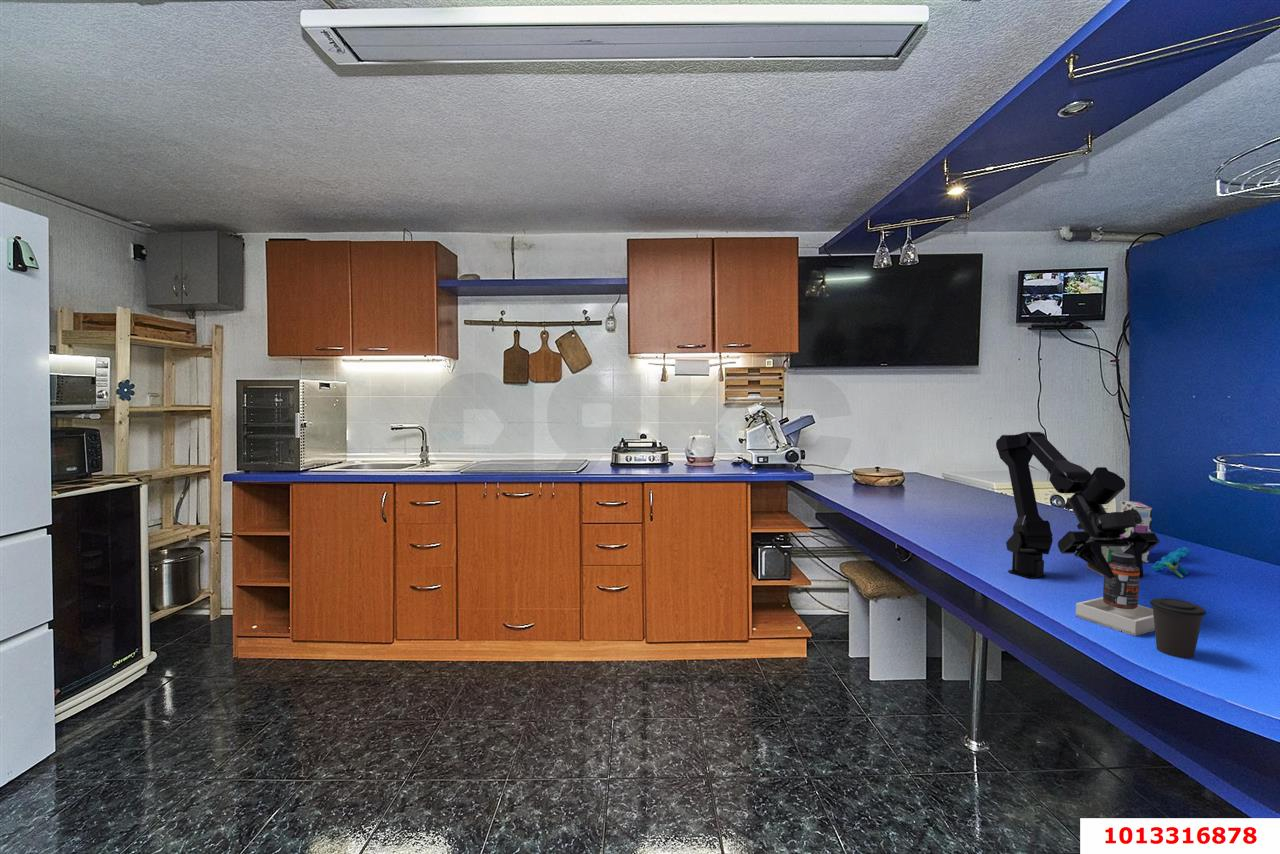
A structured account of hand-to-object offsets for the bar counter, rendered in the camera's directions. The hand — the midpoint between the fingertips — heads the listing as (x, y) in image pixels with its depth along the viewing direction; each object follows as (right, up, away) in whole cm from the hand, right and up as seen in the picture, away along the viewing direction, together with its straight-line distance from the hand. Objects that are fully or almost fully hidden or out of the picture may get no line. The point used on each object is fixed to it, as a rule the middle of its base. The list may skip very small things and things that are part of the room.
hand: (1126, 577), depth 125 cm
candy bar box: (+44, -7, +50) cm, 67 cm away
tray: (0, -10, +2) cm, 10 cm away
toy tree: (+42, -8, +35) cm, 55 cm away
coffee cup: (-1, -11, -13) cm, 17 cm away
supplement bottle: (0, -7, +2) cm, 7 cm away
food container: (+25, -8, +36) cm, 44 cm away
